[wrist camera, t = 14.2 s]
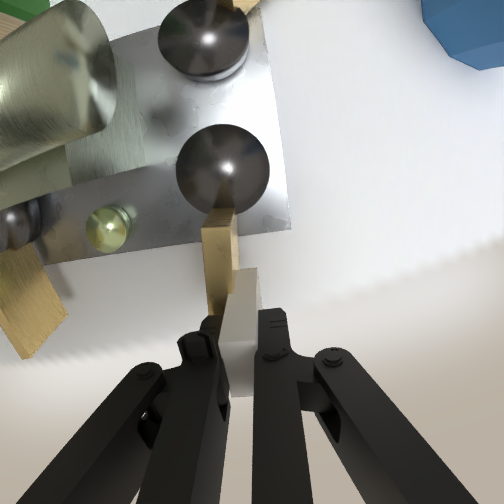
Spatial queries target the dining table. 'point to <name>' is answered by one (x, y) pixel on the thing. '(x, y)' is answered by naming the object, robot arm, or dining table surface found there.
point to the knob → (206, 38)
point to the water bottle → (468, 30)
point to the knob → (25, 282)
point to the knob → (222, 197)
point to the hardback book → (19, 13)
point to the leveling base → (163, 148)
